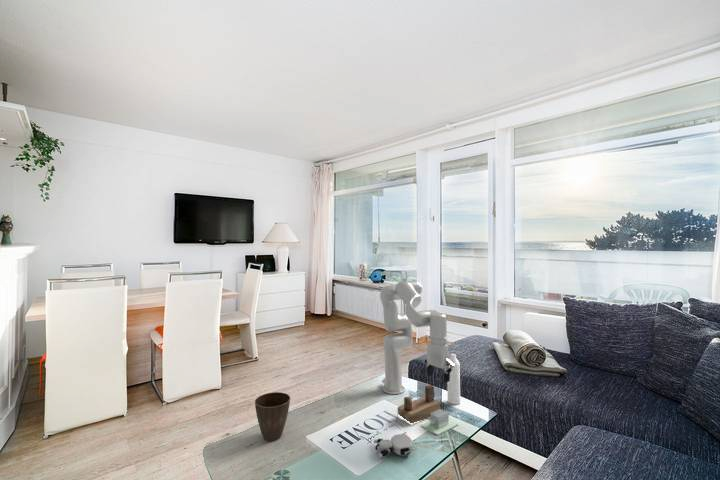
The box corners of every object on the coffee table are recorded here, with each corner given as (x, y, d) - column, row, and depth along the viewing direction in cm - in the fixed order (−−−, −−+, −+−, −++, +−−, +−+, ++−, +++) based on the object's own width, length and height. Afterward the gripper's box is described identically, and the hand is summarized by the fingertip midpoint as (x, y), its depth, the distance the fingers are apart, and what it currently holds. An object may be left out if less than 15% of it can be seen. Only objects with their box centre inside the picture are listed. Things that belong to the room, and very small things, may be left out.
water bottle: (458, 399, 182) (458, 352, 182) (461, 404, 175) (460, 356, 176) (442, 399, 182) (441, 352, 183) (444, 404, 176) (443, 355, 176)
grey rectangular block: (429, 424, 155) (429, 413, 155) (440, 419, 159) (439, 409, 159) (438, 429, 151) (438, 417, 151) (448, 424, 155) (448, 413, 155)
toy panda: (378, 465, 128) (417, 458, 130) (377, 453, 129) (416, 446, 131) (373, 446, 141) (408, 441, 143) (372, 435, 141) (407, 430, 143)
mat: (420, 426, 155) (420, 424, 155) (440, 416, 163) (440, 415, 163) (437, 435, 147) (437, 434, 147) (458, 425, 155) (458, 424, 155)
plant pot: (271, 424, 157) (271, 389, 158) (297, 432, 150) (297, 395, 151) (247, 440, 144) (247, 402, 144) (274, 450, 137) (274, 410, 137)
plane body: (397, 417, 162) (397, 392, 163) (426, 406, 174) (426, 382, 175) (411, 425, 155) (410, 398, 156) (440, 412, 167) (439, 388, 167)
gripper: (418, 338, 161) (418, 374, 160) (448, 346, 147) (448, 386, 146) (429, 335, 165) (429, 370, 165) (458, 343, 151) (459, 382, 151)
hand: (438, 378), depth 156 cm, fingers open, 9 cm apart
